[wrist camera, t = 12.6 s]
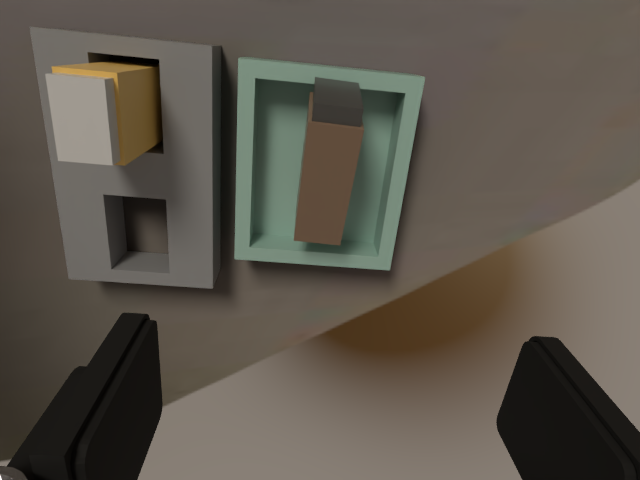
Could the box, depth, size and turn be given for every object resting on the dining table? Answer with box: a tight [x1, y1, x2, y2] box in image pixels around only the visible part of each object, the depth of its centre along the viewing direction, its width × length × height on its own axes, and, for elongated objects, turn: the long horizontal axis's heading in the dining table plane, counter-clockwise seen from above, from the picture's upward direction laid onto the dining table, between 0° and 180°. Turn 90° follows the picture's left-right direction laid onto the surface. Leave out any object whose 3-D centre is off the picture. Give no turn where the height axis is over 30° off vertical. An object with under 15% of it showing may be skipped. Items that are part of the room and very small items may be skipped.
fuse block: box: [30, 27, 221, 289], centre depth 29 cm, size 16×10×3 cm, turn 174°
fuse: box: [45, 61, 163, 166], centre depth 25 cm, size 4×3×9 cm, turn 174°
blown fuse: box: [294, 77, 364, 245], centre depth 27 cm, size 4×3×9 cm
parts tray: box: [234, 57, 425, 270], centre depth 30 cm, size 13×11×3 cm
